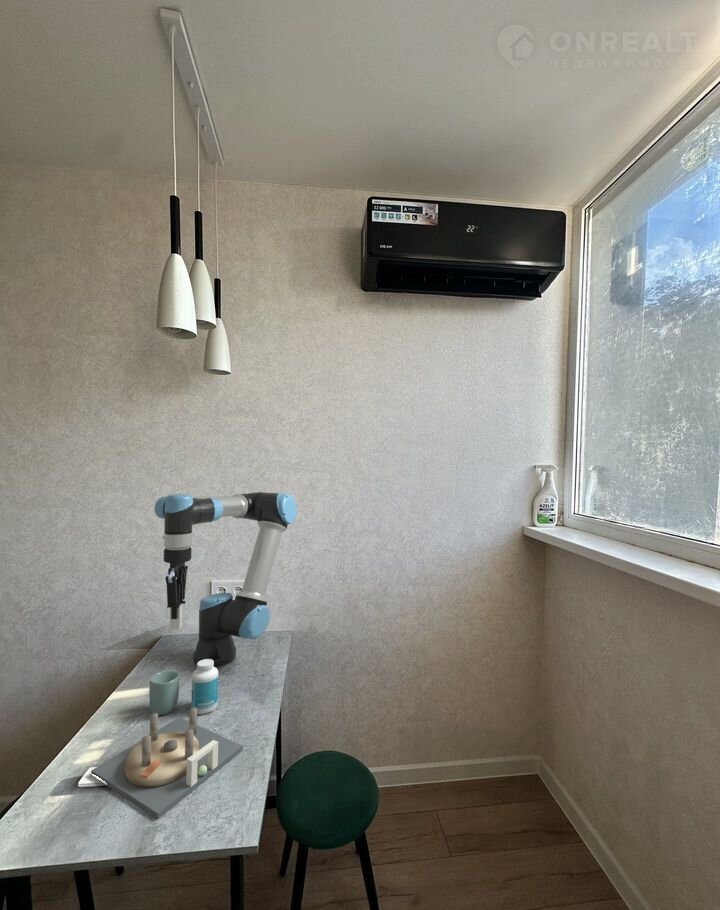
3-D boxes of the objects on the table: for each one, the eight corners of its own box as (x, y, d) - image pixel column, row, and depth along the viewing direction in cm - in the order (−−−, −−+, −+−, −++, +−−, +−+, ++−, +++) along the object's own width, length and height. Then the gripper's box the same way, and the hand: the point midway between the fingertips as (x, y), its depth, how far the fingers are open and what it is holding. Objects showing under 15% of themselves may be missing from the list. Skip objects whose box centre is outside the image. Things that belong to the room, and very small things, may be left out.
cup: (167, 720, 120) (168, 685, 120) (142, 716, 122) (143, 681, 122) (183, 705, 128) (184, 671, 128) (160, 701, 129) (161, 668, 129)
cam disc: (174, 729, 114) (175, 699, 114) (217, 749, 106) (218, 717, 106) (110, 769, 99) (111, 735, 99) (154, 797, 91) (155, 759, 91)
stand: (179, 721, 120) (179, 696, 120) (243, 750, 108) (243, 723, 108) (91, 775, 99) (92, 746, 99) (158, 819, 87) (159, 786, 87)
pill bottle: (223, 706, 128) (224, 660, 128) (202, 718, 121) (203, 670, 121) (206, 698, 131) (207, 654, 132) (185, 710, 125) (186, 664, 125)
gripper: (172, 542, 131) (170, 619, 131) (155, 552, 117) (153, 638, 117) (197, 542, 132) (195, 619, 132) (184, 552, 118) (181, 637, 118)
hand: (175, 628), depth 124 cm, fingers closed
